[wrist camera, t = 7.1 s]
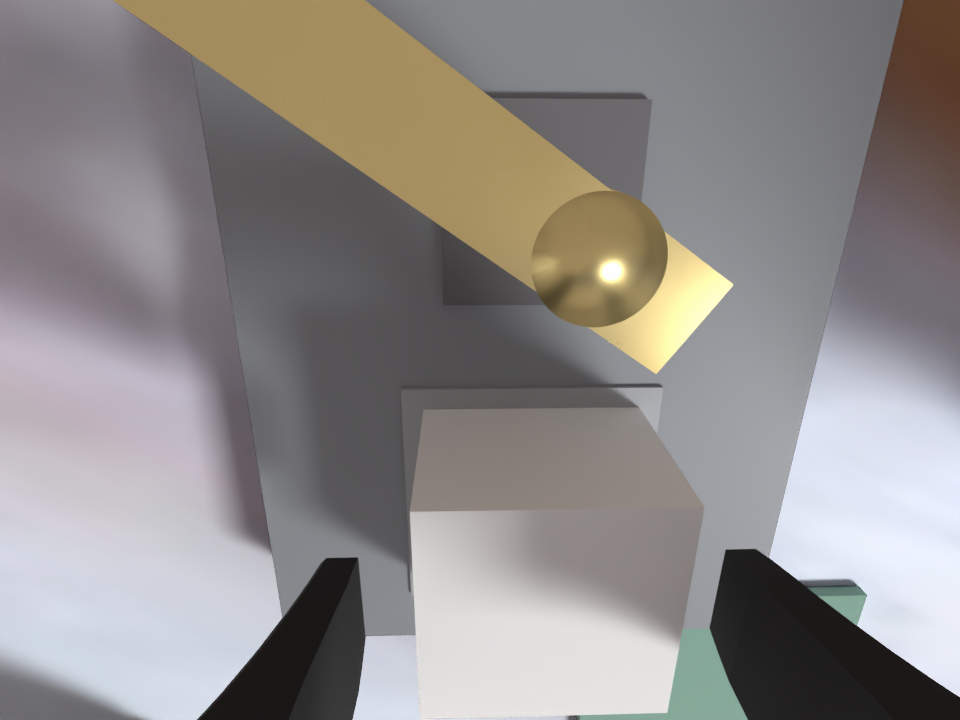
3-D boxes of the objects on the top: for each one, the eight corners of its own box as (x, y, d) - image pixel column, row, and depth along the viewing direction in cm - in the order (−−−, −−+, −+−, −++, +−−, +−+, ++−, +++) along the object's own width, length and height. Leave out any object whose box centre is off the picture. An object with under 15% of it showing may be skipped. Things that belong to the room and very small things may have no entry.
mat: (859, 586, 19) (866, 595, 18) (800, 766, 22) (806, 777, 22) (589, 591, 19) (592, 600, 18) (571, 773, 22) (573, 784, 22)
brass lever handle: (578, 285, 12) (650, 380, 7) (214, 29, 10) (8, -59, 5) (628, 220, 11) (739, 278, 7) (258, -62, 9) (71, -242, 5)
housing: (831, -19, 12) (925, -57, 10) (714, 564, 18) (755, 633, 16) (227, -27, 12) (165, -70, 9) (308, 572, 18) (283, 643, 15)
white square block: (639, 407, 13) (704, 507, 10) (618, 576, 15) (667, 712, 12) (423, 409, 13) (409, 511, 10) (429, 580, 15) (419, 719, 11)
